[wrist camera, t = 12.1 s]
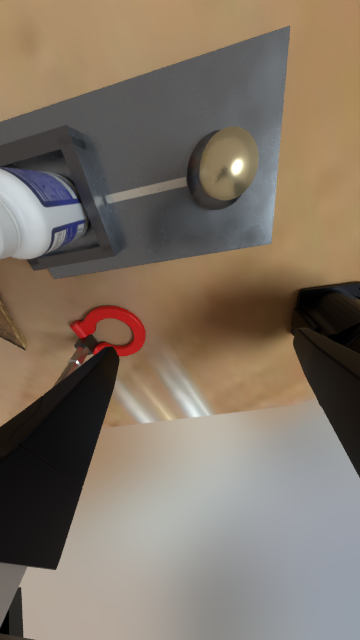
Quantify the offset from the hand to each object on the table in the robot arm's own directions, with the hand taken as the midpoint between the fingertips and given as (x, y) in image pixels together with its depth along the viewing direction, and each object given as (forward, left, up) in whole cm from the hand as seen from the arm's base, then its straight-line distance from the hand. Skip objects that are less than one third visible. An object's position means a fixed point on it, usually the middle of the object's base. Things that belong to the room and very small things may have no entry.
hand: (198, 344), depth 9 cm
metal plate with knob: (+4, -7, -13) cm, 15 cm away
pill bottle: (+11, -7, -12) cm, 18 cm away
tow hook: (+13, +8, -13) cm, 20 cm away
